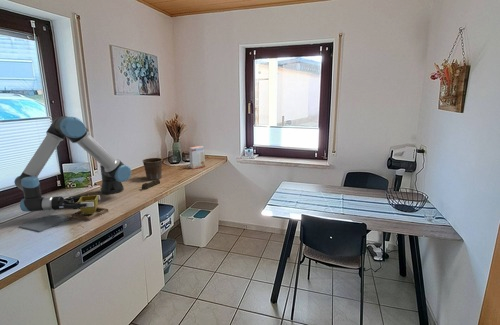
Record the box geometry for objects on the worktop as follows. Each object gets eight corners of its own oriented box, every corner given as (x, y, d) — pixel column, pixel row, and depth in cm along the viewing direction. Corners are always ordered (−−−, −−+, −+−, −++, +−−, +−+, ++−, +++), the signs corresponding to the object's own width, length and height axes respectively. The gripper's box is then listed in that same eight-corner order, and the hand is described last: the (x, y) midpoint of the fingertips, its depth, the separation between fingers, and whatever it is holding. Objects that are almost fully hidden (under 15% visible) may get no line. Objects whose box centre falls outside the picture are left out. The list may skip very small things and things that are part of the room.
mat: (49, 215, 158) (49, 214, 158) (69, 219, 153) (69, 218, 153) (18, 227, 143) (18, 226, 143) (40, 232, 138) (39, 231, 138)
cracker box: (202, 166, 277) (201, 145, 272) (205, 167, 272) (204, 146, 268) (189, 168, 268) (188, 147, 263) (192, 169, 264) (191, 148, 259)
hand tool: (156, 183, 220) (155, 177, 219) (160, 183, 219) (160, 178, 217) (139, 190, 203) (138, 184, 202) (143, 191, 201) (142, 185, 200)
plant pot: (152, 182, 222) (151, 162, 218) (139, 179, 230) (138, 160, 227) (167, 177, 236) (166, 159, 232) (155, 174, 244) (154, 157, 240)
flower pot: (83, 210, 162) (81, 196, 159) (99, 208, 165) (97, 194, 162) (79, 216, 154) (77, 201, 151) (97, 214, 157) (95, 199, 154)
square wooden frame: (91, 208, 168) (91, 205, 167) (108, 211, 163) (108, 208, 163) (71, 217, 155) (70, 214, 155) (89, 220, 151) (88, 217, 151)
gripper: (64, 202, 166) (103, 199, 170) (44, 217, 144) (90, 214, 148) (62, 190, 164) (102, 188, 168) (42, 204, 143) (88, 201, 147)
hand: (96, 200), depth 158 cm, fingers closed on flower pot, 10 cm apart
